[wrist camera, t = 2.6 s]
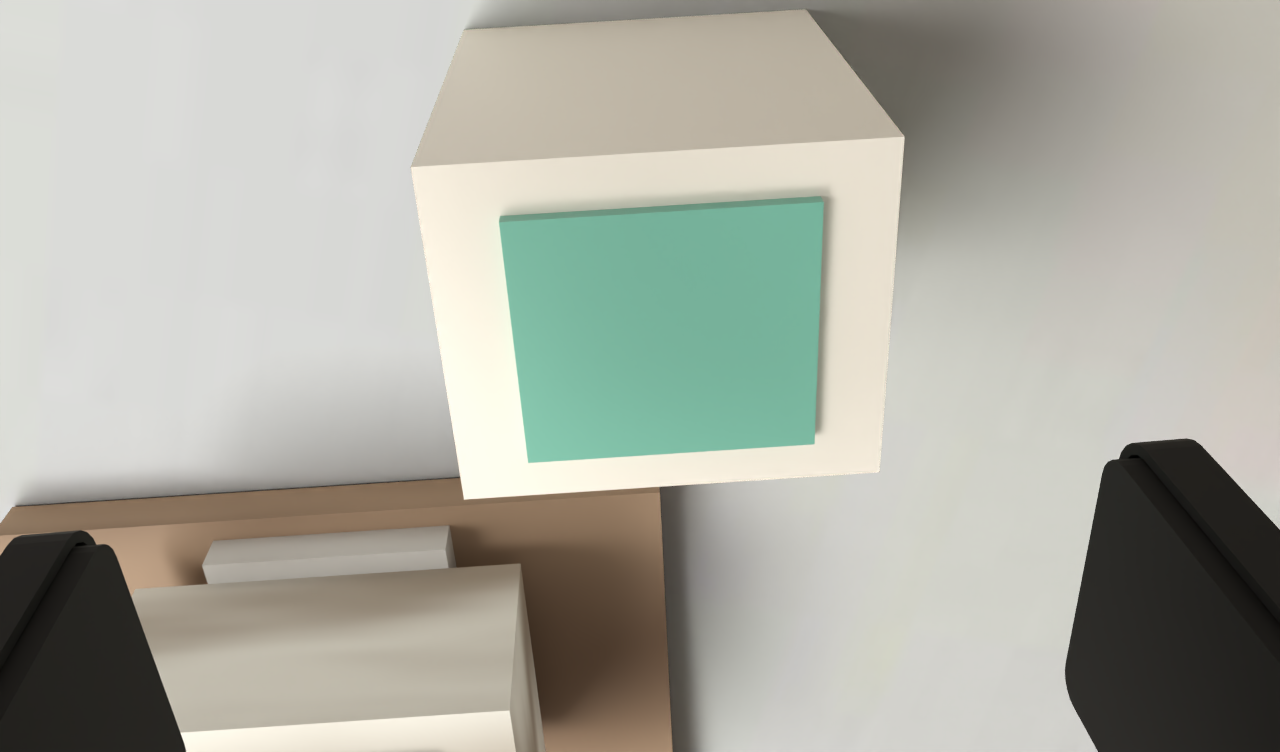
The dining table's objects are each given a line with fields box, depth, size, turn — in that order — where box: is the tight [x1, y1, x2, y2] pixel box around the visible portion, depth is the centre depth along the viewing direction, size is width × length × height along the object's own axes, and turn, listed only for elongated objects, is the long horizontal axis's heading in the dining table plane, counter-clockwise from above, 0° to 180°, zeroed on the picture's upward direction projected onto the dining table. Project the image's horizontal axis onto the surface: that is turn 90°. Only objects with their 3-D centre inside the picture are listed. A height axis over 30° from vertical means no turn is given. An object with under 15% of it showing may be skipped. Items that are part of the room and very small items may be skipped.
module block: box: [411, 9, 905, 500], centre depth 18 cm, size 5×6×7 cm
